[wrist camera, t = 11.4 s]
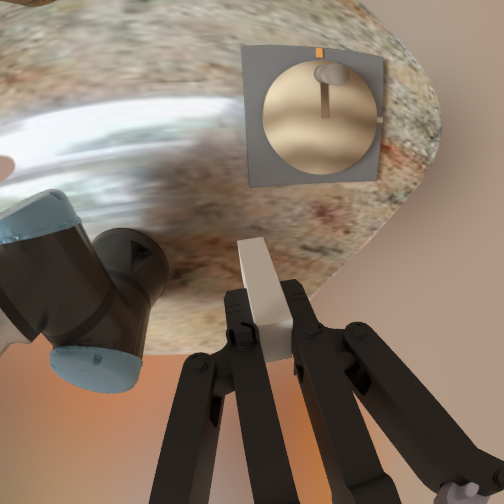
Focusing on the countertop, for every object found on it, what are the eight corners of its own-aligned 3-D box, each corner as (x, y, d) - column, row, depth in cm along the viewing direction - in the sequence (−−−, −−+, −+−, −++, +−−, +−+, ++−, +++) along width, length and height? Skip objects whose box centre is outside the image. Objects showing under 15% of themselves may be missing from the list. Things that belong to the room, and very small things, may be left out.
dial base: (372, 178, 42) (377, 182, 40) (249, 184, 41) (250, 188, 39) (378, 57, 31) (384, 57, 29) (241, 47, 29) (242, 45, 28)
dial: (369, 168, 39) (391, 184, 34) (265, 175, 38) (274, 193, 33) (371, 65, 30) (397, 66, 25) (257, 60, 29) (266, 55, 24)
